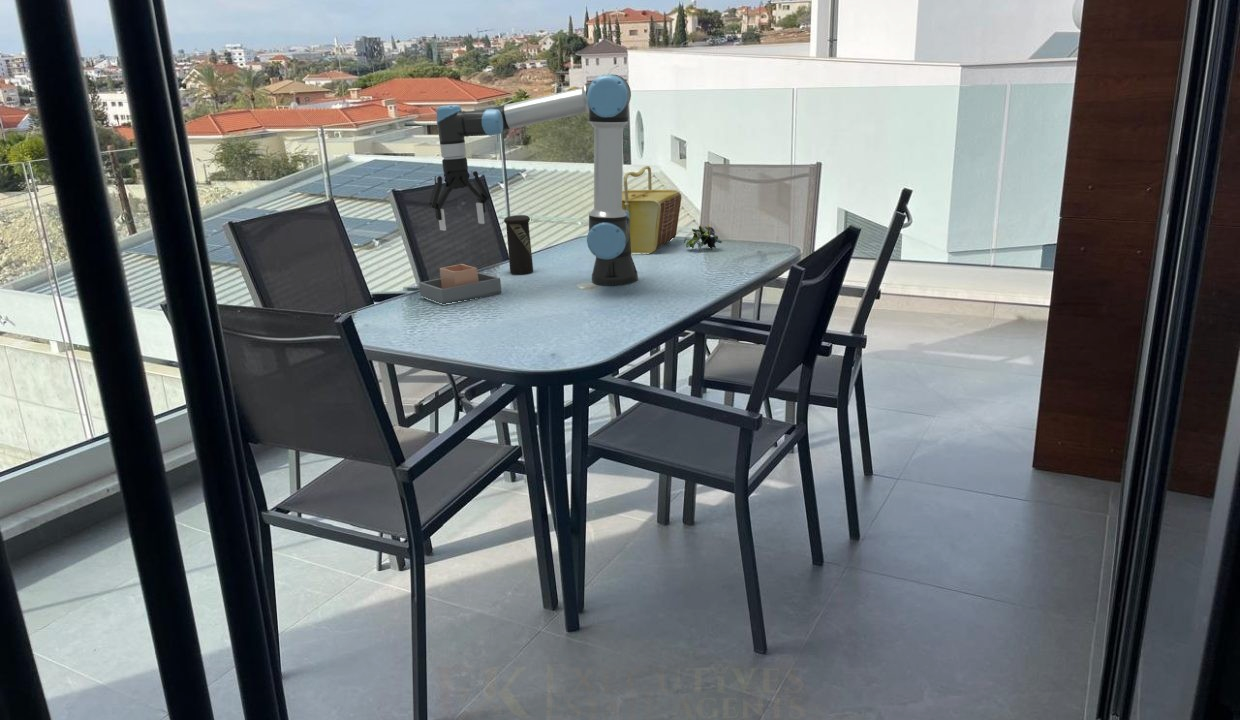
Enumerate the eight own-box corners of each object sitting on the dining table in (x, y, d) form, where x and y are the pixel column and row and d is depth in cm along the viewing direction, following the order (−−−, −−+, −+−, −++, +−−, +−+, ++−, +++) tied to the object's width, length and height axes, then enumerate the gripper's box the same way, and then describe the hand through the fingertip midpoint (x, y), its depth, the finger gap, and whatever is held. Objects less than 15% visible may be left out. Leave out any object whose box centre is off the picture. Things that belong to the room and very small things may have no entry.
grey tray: (501, 293, 290) (500, 278, 289) (443, 305, 279) (441, 289, 277) (477, 286, 302) (476, 271, 301) (420, 298, 291) (418, 282, 289)
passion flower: (710, 263, 344) (728, 238, 338) (695, 263, 335) (713, 237, 330) (690, 244, 348) (707, 219, 343) (675, 244, 339) (693, 218, 334)
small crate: (479, 292, 289) (477, 267, 286) (457, 297, 284) (454, 272, 282) (464, 288, 296) (461, 263, 294) (442, 292, 292) (439, 268, 289)
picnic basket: (661, 256, 335) (658, 173, 326) (596, 254, 344) (591, 174, 335) (684, 241, 361) (681, 164, 352) (623, 240, 370) (619, 165, 361)
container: (522, 276, 314) (517, 218, 308) (503, 273, 320) (498, 216, 314) (539, 271, 321) (534, 214, 315) (520, 268, 326) (515, 213, 320)
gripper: (483, 153, 289) (490, 219, 295) (411, 161, 274) (420, 232, 281) (495, 153, 283) (503, 221, 289) (422, 162, 269) (432, 234, 275)
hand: (462, 226), depth 285 cm, fingers open, 13 cm apart
